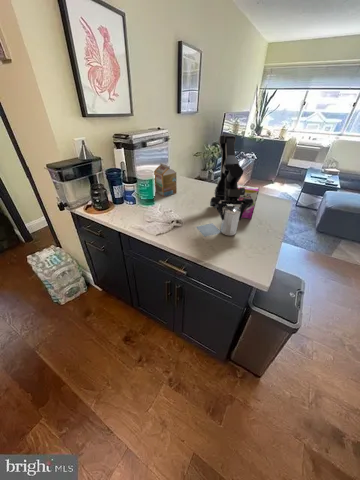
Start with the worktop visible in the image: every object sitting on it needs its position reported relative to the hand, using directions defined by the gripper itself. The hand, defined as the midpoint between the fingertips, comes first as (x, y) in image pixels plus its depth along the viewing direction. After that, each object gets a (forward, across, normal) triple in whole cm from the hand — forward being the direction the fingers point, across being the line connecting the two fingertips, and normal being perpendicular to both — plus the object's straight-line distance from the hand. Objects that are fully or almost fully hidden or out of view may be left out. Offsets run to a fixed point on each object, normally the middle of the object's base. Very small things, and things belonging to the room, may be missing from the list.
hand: (231, 220), depth 90 cm
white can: (+4, 0, +6) cm, 7 cm away
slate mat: (+3, -9, +8) cm, 13 cm away
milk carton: (-30, -36, +42) cm, 62 cm away
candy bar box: (-8, +10, +20) cm, 24 cm away
